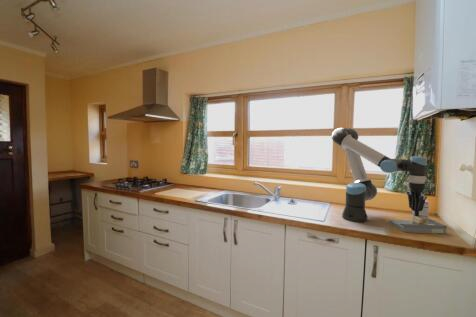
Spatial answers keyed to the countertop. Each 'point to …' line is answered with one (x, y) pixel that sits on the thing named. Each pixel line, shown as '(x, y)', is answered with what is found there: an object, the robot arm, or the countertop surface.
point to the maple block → (420, 220)
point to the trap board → (418, 226)
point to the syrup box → (425, 210)
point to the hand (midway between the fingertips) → (414, 221)
